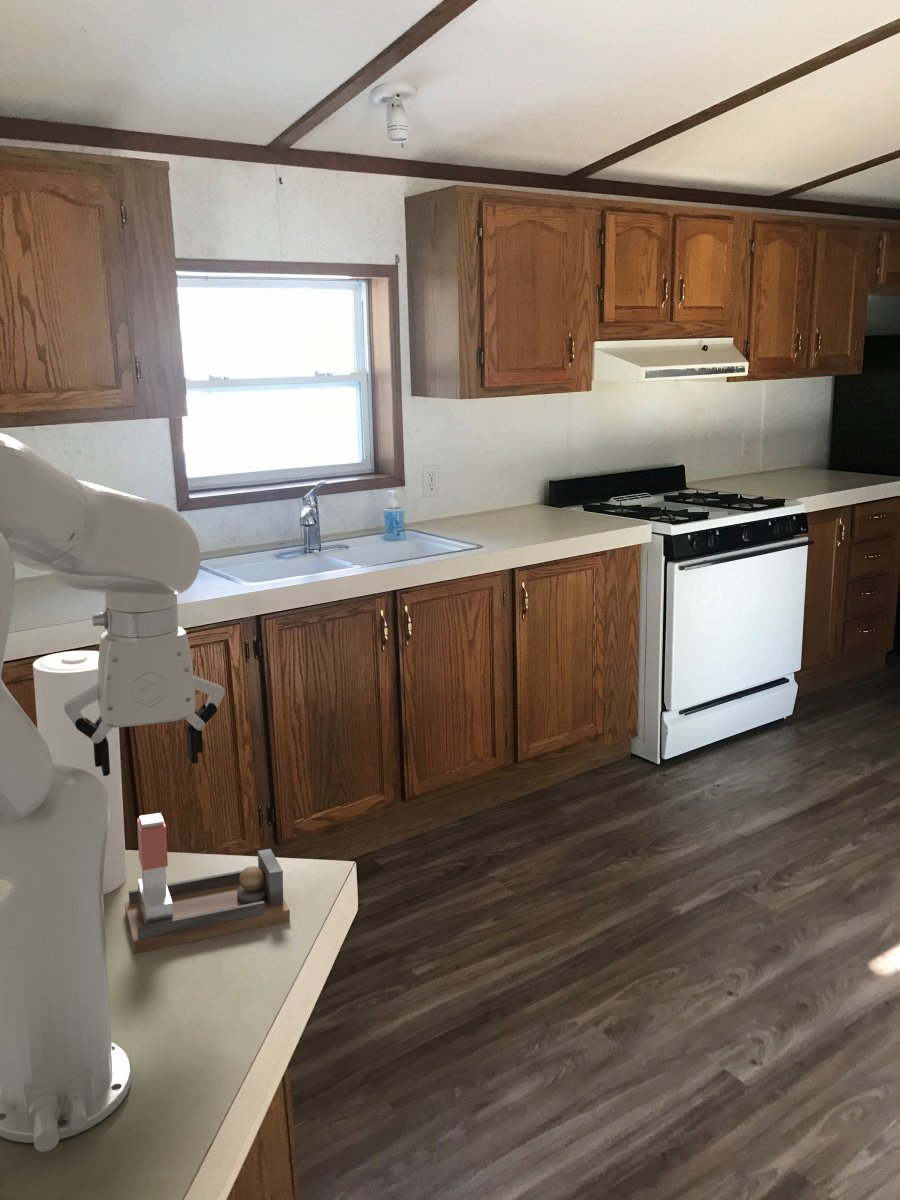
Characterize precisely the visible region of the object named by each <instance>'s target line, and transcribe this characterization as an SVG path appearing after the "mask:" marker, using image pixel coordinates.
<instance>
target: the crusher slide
mask: <svg viewBox="0 0 900 1200" xmlns="http://www.w3.org/2000/svg"><path fill="white" fill-rule="evenodd" d="M136 820H137V821H136V823H137V840H138V841H137V842H138V858H139V862H140V866H141V878H137V889H138V898H139V905H140V909H141V912H142V916H143V920H144V924H149V923H154V922H159V921H164V920H169V919H173V904H172V900H171V897H170V894H169V891H168V888H167V884H168V883H167V870H166V869H167V868H166V867H168V843H167V842H168V841H167V839H168V837H167V836H168V835H167V825H166V823H165V820H164V817H163V814H162V812H157V813H150V814H142V815H139V817H138V818H137V819H136Z"/></svg>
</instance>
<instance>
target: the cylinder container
mask: <svg viewBox="0 0 900 1200" xmlns="http://www.w3.org/2000/svg"><path fill="white" fill-rule="evenodd" d="M98 659H99V650H70V651H62V652H57V653H51V654H47V655H44V656H42V657H39V658H37V659H36V660H35V661H34V662H33V663H32V671H33V685H34V698H35V710H36V711H35V713H36V728H37V729H38V731H39V732H40V734H41V735H42V737H43V739H44V740H45V742H46V744H47V745H48V748H49V750H50V753H51V756H52V759H53V764H54V765H63V766H69V767H74V768H78V769H81V770H84V771H86V772H88V773H90V774H92V775H94V776H95V777H96V778H98V779H99V780H100V781H101V782H102V784H103V785H104V787H105V788H106V791H107V793H108V796H109V801H110V820H109V829H108V836H107V844H106V852H105V860H104V875H103V896H104V895H106V894H109V893H111V892H113V891H114V890H116V889H118V888H120V887H121V886H122V884H124V883H125V881H126V879H127V860H126V842H125V823H124V822H125V821H124V819H125V818H124V804H123V802H124V801H123V784H122V782H123V781H122V768H121V767H122V766H121V765H122V764H121V748H120V747H121V745H120V729H119V728H120V727H112V729H111V730H110V731H109V733H108V734H107V735H106V737H107V740H108V746H109V763H110V774H108V776H103V772H102V768H101V766H100V767H95V760H94V744H93V741H92V739H90V738H89V737H87V736H86V735H85V734H83V733H82V732H80V731H79V730H78V729H77V728H76V726H75V725H74V723H73V722H72V721H71V719H70V718H69V717H68V715H67V714H66V712H65V710H64V704H65V703H66V702H67V701H69V700H71V699H72V698H74V697H76V696H78V695H79V694H81V693H83V692H84V691H86V690H88V689H90V688H91V687H93V686H95V685H96V684H98ZM81 712H82V714H83V715H84V716H85V717H86V718H87V719H89V720H90V721H91V722H93V723H94V722H95V721H96V719H97V718H98V717H99V716H100V708H99V703H98V700H96V701H95V702H93V703H91V704H90V705H88V706H86V707H85V708H83V709H82V710H81Z"/></svg>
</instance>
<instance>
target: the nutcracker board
mask: <svg viewBox="0 0 900 1200" xmlns="http://www.w3.org/2000/svg"><path fill="white" fill-rule="evenodd" d="M166 884H167V888H168V891H169V894H170V897H171V900H172V904H173V919H169V920H164V921H159V922H154V923H149V924H144V920H143V916H142V912H141V909H140V905H139V898H138V888H137V889H131V890H128V898H129V900H128V901H125V902H124V908H125V909H124V910H125V912H124V913H125V918H126V921H127V926H128V930H129V935H130V939H131V943H132V947H133V951H134V954H137V953H138V954H139V953H143V952H147V951H152V950H158V949H162V948H166V947H172V946H176V945H182V944H186V943H190V942H191V943H192V942H195V941H196V942H197V941H201V940H205V939H211V938H216V937H219V936H220V937H221V936H225V935H228V934H229V935H230V934H234V933H238V932H244V931H249V930H254V929H258V928H262V927H267V926H272V925H278V924H282V923H287V922H290V921H291V919H290V918H291V916H290V915H291V912H290V911H291V909H290V908H289V906H288V904H287V902H286V900H285V899H284V871H283V868H282V867H281V865H280V862H279V861H278V860H277V858H276V856H275V853H273V851H272V849H271V848H267V849H262V850H257V866H254V865H252V866H248V867H247V866H246V867H245V868H244V869H242V870H236V871H230V872H225V873H219V874H215V875H209V876H203V877H197V878H192V879H186V880H182V881H175V882H169V883H166Z"/></svg>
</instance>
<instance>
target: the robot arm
mask: <svg viewBox="0 0 900 1200" xmlns="http://www.w3.org/2000/svg"><path fill="white" fill-rule="evenodd" d="M15 563H17V564H20V565H23V566H24V567H27V568H30V569H33V570H36V571H40V572H46V573H51V574H52V575H53V577H54V579H55V581H57V582H58V583H59V584H60V585H62V586H63V587H65V588H67V589H70V590H72V591H75V592H77V591H78V592H81V593H82V592H84V593H103V594H104V598H105V605H104V608H103V609H102V611H100V612H99V613H93V614H91V621H92V626H93V627H100V628H104V630H105V631H104V632H102V634H101V636H100V641H99V648H98V651H99V659H98V684H96V685H95V686H93V687H91V688H90V689H88V690H86V691H84V692H83V693H81V694H79V695H78V696H76V697H74V698H72V699H71V700H69V701H67V702H66V703H65V704H64V710H65V712H66V714H67V715H68V717H69V718H70V719H71V721H72V722H73V723H74V725H75V726H76V728H77V729H78V730H79V731H80V732H82V733H83V734H85V735H86V736H87V737H89V738H90V739H92V741H93V744H94V760H95V767H100V766H101V768H102V772H103V776H108V774H110V763H109V746H108V740H107V737H106V735H107V734H108V733H109V731H110V730H111V729H112V727H119V728H126V727H127V728H129V727H136V726H143V725H144V726H145V725H153V724H154V725H155V724H161V723H169V722H176V721H181V720H186V721H187V724H186V725H185V726H186V728H185V731H186V755H187V757H188V758H189V761H190V763H192V764H199V754H202V753H203V750H204V749H203V747H204V746H203V730H204V729H205V727H206V724H207V723H208V722H209V721H210V720H211V719H212V717H213V716H214V715H215V714H216V713H217V711H218V707H219V706H220V704H221V702H222V700H223V698H224V696H225V694H226V690H225V689H224V687H223V686H222V685H220V684H219V683H216V682H212V681H210V680H206V679H205V678H201V677H199V676H197V675H194V668H193V661H192V655H191V648H190V643H189V638H188V635H187V632H186V630H185V629H184V628H183V627H181V626H179V611H178V610H179V609H178V594H182V593H184V592H186V591H187V590H188V589H190V588H191V586H192V585H193V584H194V582H195V580H196V579H197V577H198V574H199V571H200V567H201V548H200V544H199V540H198V537H197V535H196V533H195V531H194V529H193V528H192V526H191V525H190V524H189V523H188V521H187V520H186V519H185V518H184V517H183V516H181V515H180V514H179V513H178V512H176V511H175V510H174V509H172V508H171V507H168V506H167V505H164V504H162V503H159V502H156V501H154V500H150V499H147V498H143V497H140V496H136V495H132V494H129V493H125V492H122V491H118V490H115V489H112V488H109V487H106V486H102V485H99V484H95V483H91V482H87V481H84V480H79V479H77V478H74V477H73V476H71V475H70V473H67V472H66V471H65V470H63V469H61V468H59V467H58V466H57V465H56V464H54V463H53V462H51V461H50V460H48V459H47V458H45V457H44V456H42V455H41V454H39V453H38V452H36V451H35V450H33V449H32V448H30V447H29V446H28V445H26V444H24V443H23V442H21V441H19V440H18V439H16V438H14V437H11V436H9V435H8V434H4V433H0V880H5V881H7V882H9V883H10V884H11V889H10V890H9V891H8V892H7V893H6V894H5V895H4V896H3V898H2V899H1V900H0V1137H1V1138H3V1139H6V1140H10V1141H12V1142H17V1143H27V1144H33V1146H34V1148H35V1149H36V1150H37V1152H38V1151H39V1152H42V1153H44V1152H50V1151H51V1150H53V1149H54V1148H56V1146H57V1145H58V1144H59V1140H63V1139H65V1138H69V1137H72V1136H76V1135H78V1134H80V1133H82V1132H85V1131H87V1130H88V1129H91V1128H92V1127H94V1126H96V1125H97V1124H99V1123H100V1122H102V1121H103V1120H105V1118H107V1117H108V1116H109V1115H111V1114H112V1113H113V1112H114V1111H115V1110H116V1109H117V1107H119V1106H120V1104H121V1103H122V1102H123V1100H124V1099H125V1098H126V1096H127V1094H128V1092H129V1089H130V1086H131V1081H132V1066H131V1062H130V1059H129V1056H128V1055H127V1053H126V1052H125V1050H124V1049H122V1048H121V1047H120V1046H118V1045H117V1044H116V1043H114V1042H113V1041H112V1025H111V1011H110V1010H111V1007H110V992H109V976H108V975H109V973H108V960H107V959H108V957H107V943H106V941H107V940H106V924H105V907H104V906H105V905H104V904H105V903H104V895H103V875H104V860H105V852H106V844H107V836H108V829H109V820H110V801H109V796H108V793H107V791H106V788H105V787H104V785H103V784H102V782H101V781H100V780H99V779H98V778H96V777H95V776H94V775H92V774H90V773H88V772H86V771H84V770H81V769H78V768H74V767H69V766H63V765H54V764H53V759H52V756H51V753H50V750H49V748H48V745H47V744H46V742H45V740H44V739H43V737H42V735H41V734H40V732H39V731H38V728H37V725H35V724H34V722H33V721H32V720H31V718H30V717H29V716H28V714H27V713H26V712H25V711H24V709H23V708H22V707H21V705H20V704H19V703H18V701H17V700H16V699H15V697H14V696H13V695H12V693H11V692H10V691H9V689H8V687H7V685H6V684H5V683H4V681H3V680H2V673H3V672H2V671H3V665H4V662H5V661H4V660H5V655H6V650H7V645H8V637H9V631H10V627H11V626H10V625H11V620H12V615H13V614H12V613H13V606H14V599H15V593H16V590H15V589H16V569H15ZM196 691H198V692H202V693H203V694H207V695H208V697H207V699H206V701H205V702H204V703H203V704H202V705H201V707H199V709H197V710H196ZM96 700H98V703H99V708H100V716H99V717H98V718H97V719H96V721H95V722H94V723H93V722H91V721H90V720H89V719H87V718H86V717H85V716H84V715H83V714H82V712H81V710H82V709H83V708H85V707H86V706H88V705H90V704H91V703H93V702H95V701H96Z"/></svg>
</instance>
